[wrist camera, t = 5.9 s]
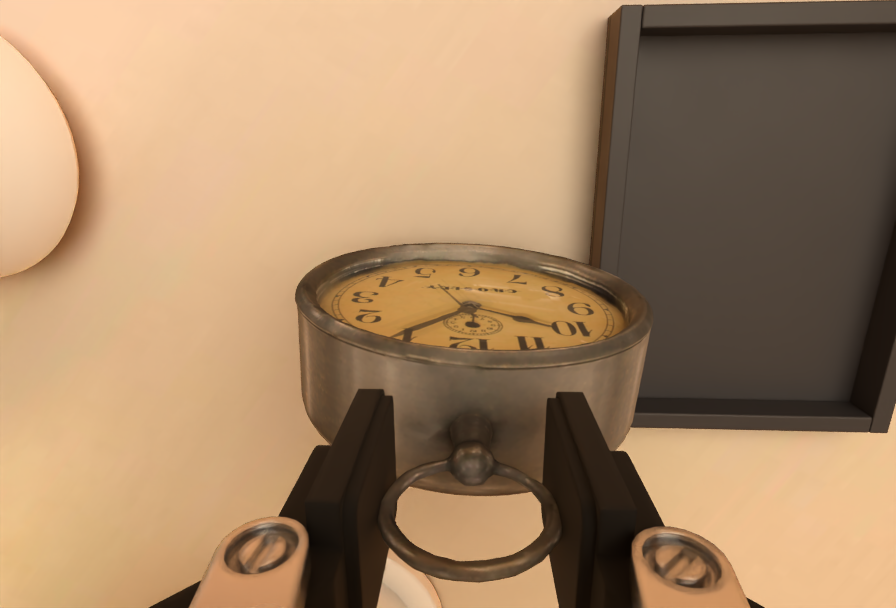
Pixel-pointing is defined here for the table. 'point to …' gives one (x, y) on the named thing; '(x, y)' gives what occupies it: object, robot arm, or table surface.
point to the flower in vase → (32, 166)
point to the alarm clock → (469, 369)
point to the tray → (755, 210)
